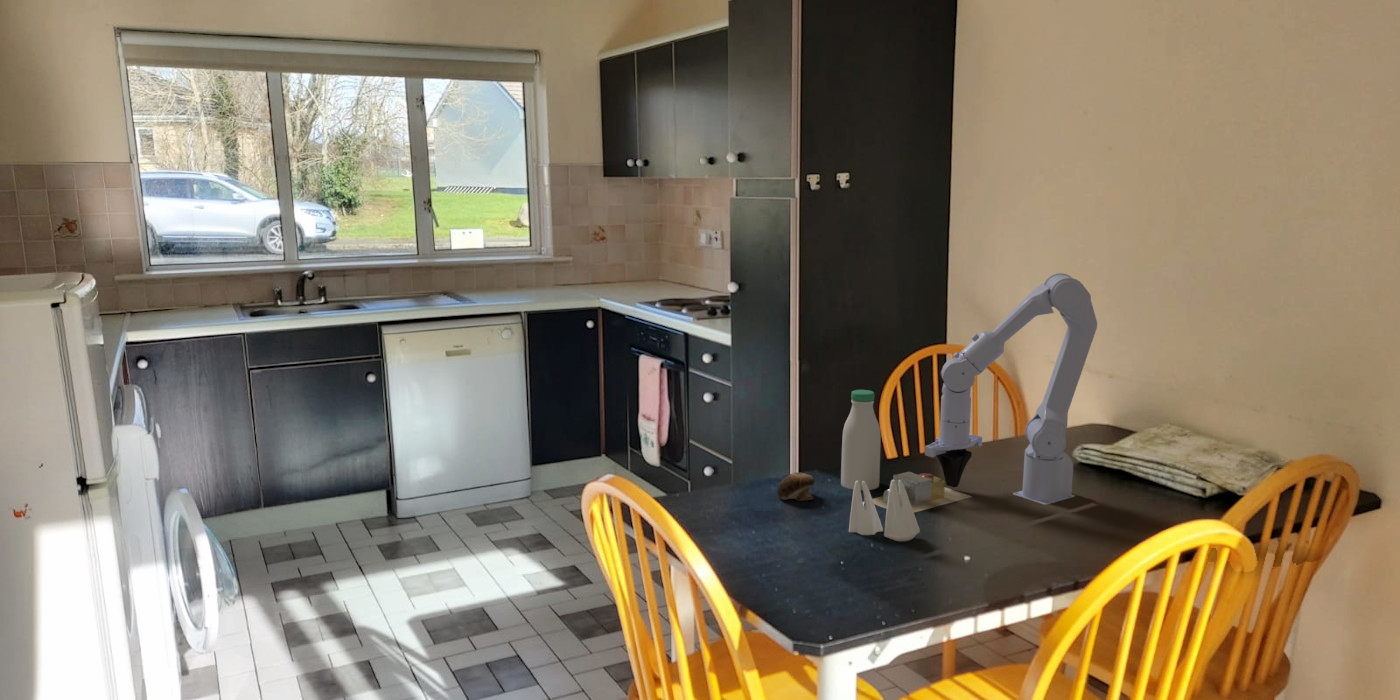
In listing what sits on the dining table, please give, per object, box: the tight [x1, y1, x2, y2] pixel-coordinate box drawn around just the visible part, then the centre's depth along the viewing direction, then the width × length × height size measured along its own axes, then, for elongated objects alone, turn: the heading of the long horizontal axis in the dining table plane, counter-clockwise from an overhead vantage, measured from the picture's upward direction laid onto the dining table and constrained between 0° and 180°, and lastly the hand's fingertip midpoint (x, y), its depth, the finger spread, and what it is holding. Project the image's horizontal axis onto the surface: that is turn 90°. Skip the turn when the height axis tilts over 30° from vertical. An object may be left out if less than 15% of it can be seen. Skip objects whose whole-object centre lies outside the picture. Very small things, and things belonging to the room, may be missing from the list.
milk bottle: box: [840, 389, 882, 491], centre depth 198 cm, size 8×8×20 cm
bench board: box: [872, 486, 973, 514], centre depth 191 cm, size 19×10×1 cm, turn 124°
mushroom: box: [777, 472, 816, 502], centre depth 191 cm, size 8×8×6 cm
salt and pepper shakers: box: [848, 479, 921, 542], centre depth 171 cm, size 12×4×11 cm, turn 59°
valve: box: [918, 472, 946, 501], centre depth 191 cm, size 8×4×4 cm, turn 124°
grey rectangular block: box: [882, 471, 932, 507], centre depth 188 cm, size 8×6×5 cm
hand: (952, 485), depth 196 cm, fingers closed
